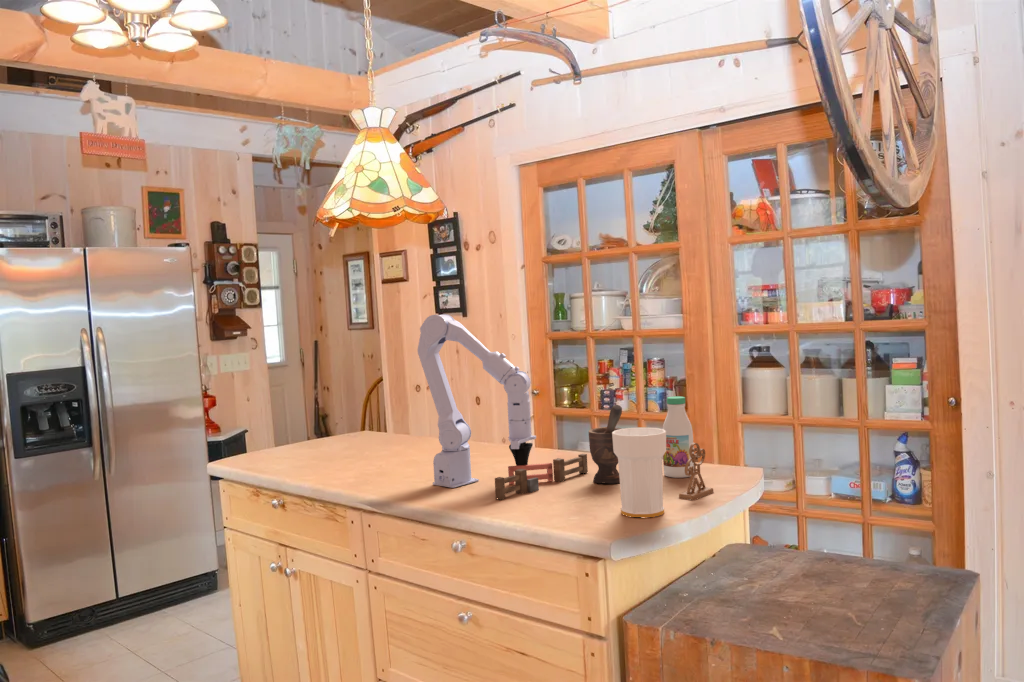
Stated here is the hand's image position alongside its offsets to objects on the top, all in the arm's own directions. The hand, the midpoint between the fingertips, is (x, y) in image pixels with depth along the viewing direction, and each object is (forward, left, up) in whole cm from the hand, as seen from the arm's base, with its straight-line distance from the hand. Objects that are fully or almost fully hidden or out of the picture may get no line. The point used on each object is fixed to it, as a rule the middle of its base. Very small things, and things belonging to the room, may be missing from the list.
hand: (522, 472), depth 205 cm
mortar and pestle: (+11, -20, -3) cm, 23 cm away
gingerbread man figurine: (+10, -44, -3) cm, 45 cm away
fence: (0, -8, -3) cm, 8 cm away
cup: (-9, -42, -3) cm, 43 cm away
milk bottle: (+26, -30, -3) cm, 40 cm away
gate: (+1, -2, -2) cm, 3 cm away
